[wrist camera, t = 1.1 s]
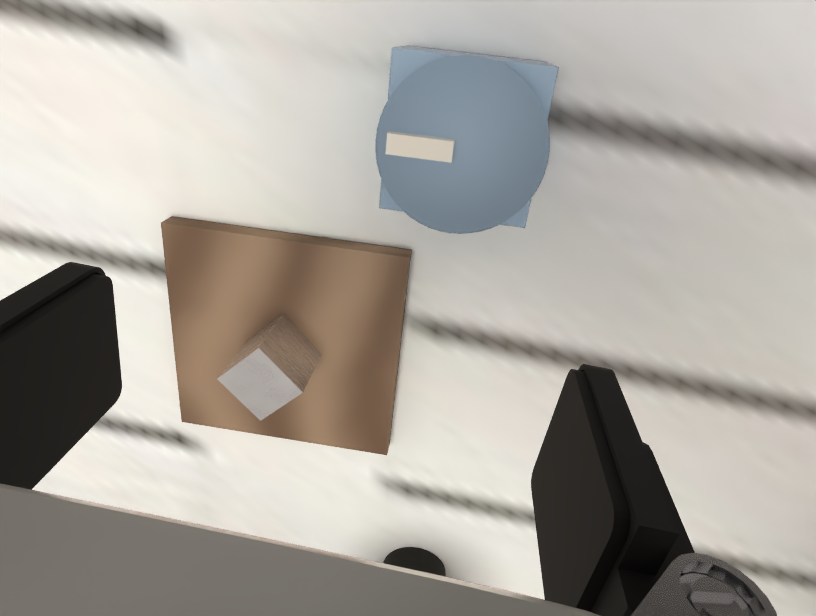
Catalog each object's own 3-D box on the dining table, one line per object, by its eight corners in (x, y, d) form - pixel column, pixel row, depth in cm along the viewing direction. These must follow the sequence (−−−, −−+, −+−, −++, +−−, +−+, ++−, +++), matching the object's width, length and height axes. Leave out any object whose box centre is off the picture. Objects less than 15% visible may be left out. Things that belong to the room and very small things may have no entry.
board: (411, 249, 31) (408, 257, 30) (389, 443, 37) (387, 455, 36) (171, 216, 32) (160, 222, 31) (190, 410, 38) (181, 421, 37)
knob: (547, 59, 26) (570, 68, 19) (519, 200, 29) (530, 248, 23) (405, 43, 26) (380, 45, 20) (392, 183, 29) (367, 225, 23)
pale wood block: (283, 313, 32) (258, 347, 29) (321, 354, 33) (303, 392, 30) (244, 342, 34) (217, 379, 30) (283, 381, 35) (260, 421, 31)
